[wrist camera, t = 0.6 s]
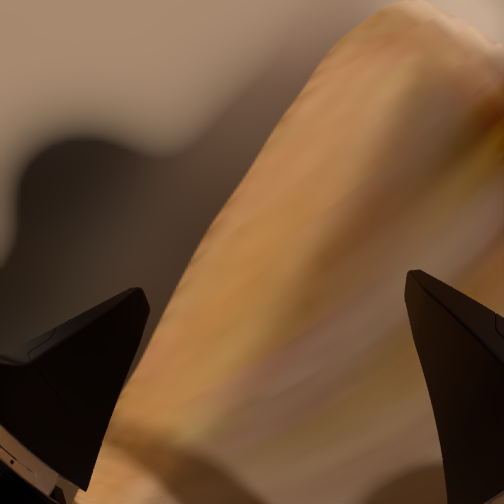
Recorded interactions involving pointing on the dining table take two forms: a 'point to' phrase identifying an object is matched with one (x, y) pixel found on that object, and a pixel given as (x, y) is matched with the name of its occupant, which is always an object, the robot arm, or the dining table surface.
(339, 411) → the dining table surface
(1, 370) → the robot arm
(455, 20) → the dining table surface
